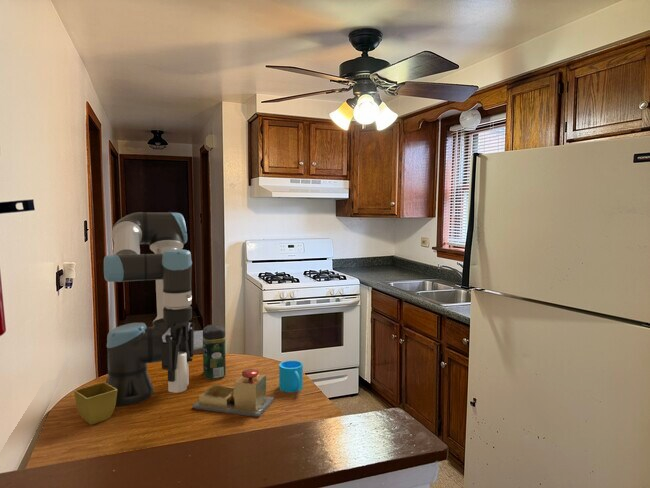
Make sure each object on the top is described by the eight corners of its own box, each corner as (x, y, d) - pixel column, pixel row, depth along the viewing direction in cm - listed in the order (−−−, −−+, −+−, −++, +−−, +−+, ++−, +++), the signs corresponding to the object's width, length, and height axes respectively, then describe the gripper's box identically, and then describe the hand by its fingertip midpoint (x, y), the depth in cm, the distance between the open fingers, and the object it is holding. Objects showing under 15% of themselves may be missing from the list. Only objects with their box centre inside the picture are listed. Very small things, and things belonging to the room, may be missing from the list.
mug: (276, 385, 154) (276, 362, 154) (297, 381, 158) (297, 359, 157) (287, 398, 143) (287, 374, 143) (310, 394, 147) (310, 370, 146)
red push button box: (193, 408, 136) (192, 373, 135) (212, 392, 147) (212, 360, 146) (259, 417, 130) (259, 381, 129) (274, 400, 142) (274, 367, 141)
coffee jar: (201, 372, 165) (201, 324, 164) (222, 369, 168) (222, 322, 167) (205, 381, 156) (204, 330, 155) (227, 378, 160) (227, 328, 158)
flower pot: (105, 409, 134) (104, 381, 133) (119, 418, 128) (118, 388, 128) (74, 420, 127) (73, 390, 126) (87, 430, 122) (86, 398, 121)
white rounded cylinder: (167, 391, 121) (166, 356, 120) (176, 384, 126) (175, 350, 125) (181, 393, 120) (180, 357, 119) (190, 386, 124) (189, 352, 123)
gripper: (170, 315, 111) (172, 403, 113) (206, 300, 128) (206, 377, 130) (145, 312, 113) (147, 399, 115) (183, 298, 130) (184, 374, 132)
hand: (178, 387), depth 123 cm, fingers closed on white rounded cylinder, 4 cm apart
